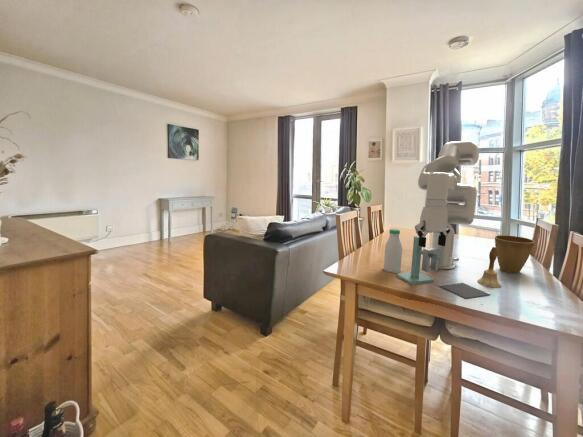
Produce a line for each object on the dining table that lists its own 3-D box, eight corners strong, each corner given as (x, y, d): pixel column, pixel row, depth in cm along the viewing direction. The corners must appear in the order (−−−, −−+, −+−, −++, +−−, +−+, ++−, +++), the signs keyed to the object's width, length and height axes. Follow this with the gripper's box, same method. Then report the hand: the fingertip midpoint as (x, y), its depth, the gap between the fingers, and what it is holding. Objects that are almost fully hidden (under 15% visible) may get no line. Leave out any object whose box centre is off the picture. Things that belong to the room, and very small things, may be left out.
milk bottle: (401, 273, 128) (405, 231, 125) (384, 272, 129) (387, 230, 126) (398, 268, 135) (401, 228, 132) (382, 267, 137) (385, 227, 134)
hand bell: (481, 278, 123) (485, 244, 120) (503, 284, 116) (508, 248, 114) (474, 283, 118) (478, 246, 115) (497, 289, 111) (502, 251, 109)
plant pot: (483, 265, 141) (487, 235, 138) (512, 265, 141) (516, 235, 139) (506, 276, 126) (511, 242, 124) (538, 276, 126) (543, 242, 124)
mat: (462, 283, 117) (462, 282, 117) (489, 295, 105) (490, 294, 105) (439, 286, 113) (440, 285, 113) (465, 298, 102) (465, 297, 102)
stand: (417, 273, 128) (421, 233, 125) (447, 287, 112) (452, 242, 109) (395, 276, 125) (398, 235, 122) (423, 291, 109) (427, 244, 106)
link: (433, 268, 115) (435, 247, 114) (438, 270, 113) (440, 249, 111) (421, 269, 113) (423, 248, 112) (426, 271, 111) (428, 250, 110)
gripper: (445, 203, 115) (441, 243, 117) (410, 203, 110) (407, 244, 112) (461, 204, 108) (456, 247, 110) (424, 204, 103) (420, 249, 105)
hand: (431, 246), depth 111 cm, fingers open, 9 cm apart
